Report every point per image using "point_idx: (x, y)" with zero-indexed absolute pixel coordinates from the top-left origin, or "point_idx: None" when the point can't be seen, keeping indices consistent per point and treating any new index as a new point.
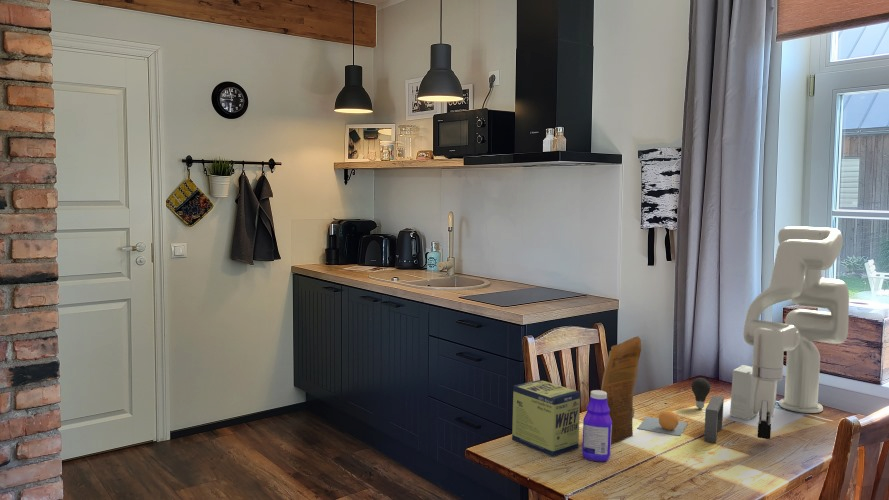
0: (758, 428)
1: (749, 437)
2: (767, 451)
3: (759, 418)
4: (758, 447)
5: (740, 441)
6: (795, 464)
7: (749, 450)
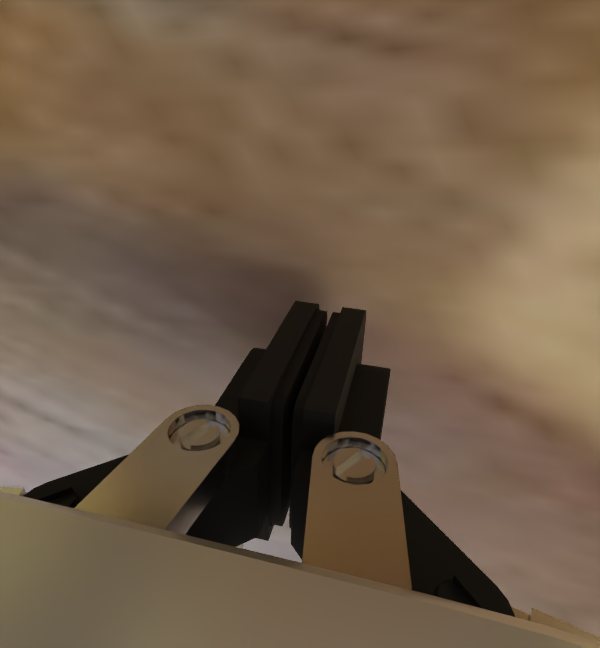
0: (264, 360)
1: (478, 195)
2: (129, 340)
3: (109, 481)
4: (184, 277)
5: (271, 90)
6: (10, 467)
7: (53, 194)
